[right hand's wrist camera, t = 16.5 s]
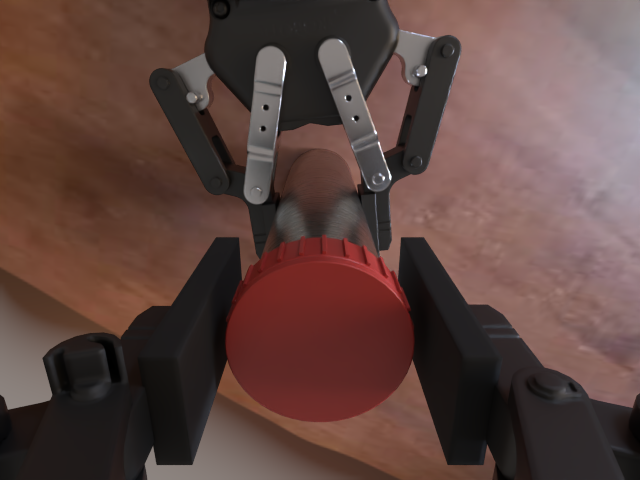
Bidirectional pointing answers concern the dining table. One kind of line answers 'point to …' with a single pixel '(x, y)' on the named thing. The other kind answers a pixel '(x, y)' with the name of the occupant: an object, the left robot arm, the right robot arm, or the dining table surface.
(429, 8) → the dining table surface
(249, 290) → the lid
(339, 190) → the brown tall cylinder
